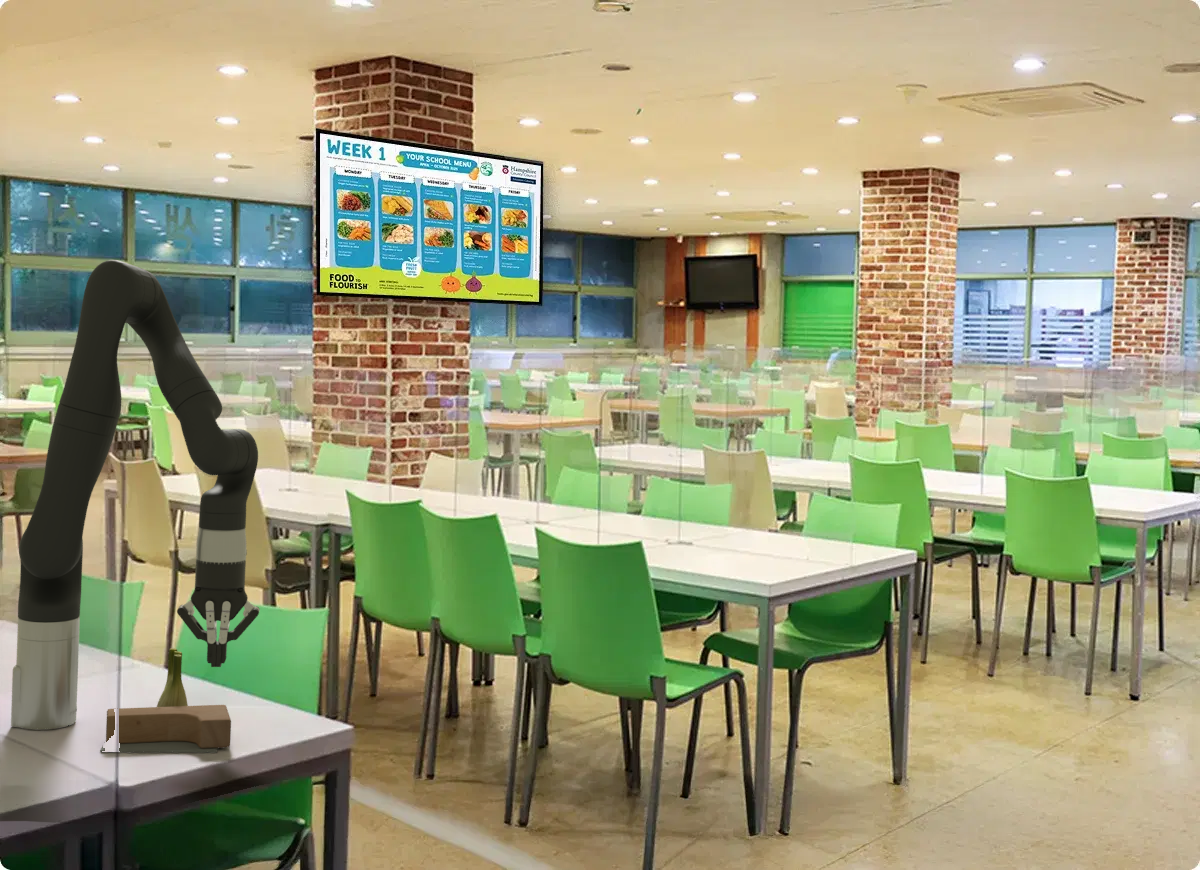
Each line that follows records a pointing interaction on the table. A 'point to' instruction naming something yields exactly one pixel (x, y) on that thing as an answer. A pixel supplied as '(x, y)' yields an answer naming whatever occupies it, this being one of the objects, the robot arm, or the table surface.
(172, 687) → the fennel bulb
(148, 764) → the table surface
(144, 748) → the mat
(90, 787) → the table surface
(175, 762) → the table surface
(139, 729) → the wooden block
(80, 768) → the table surface
